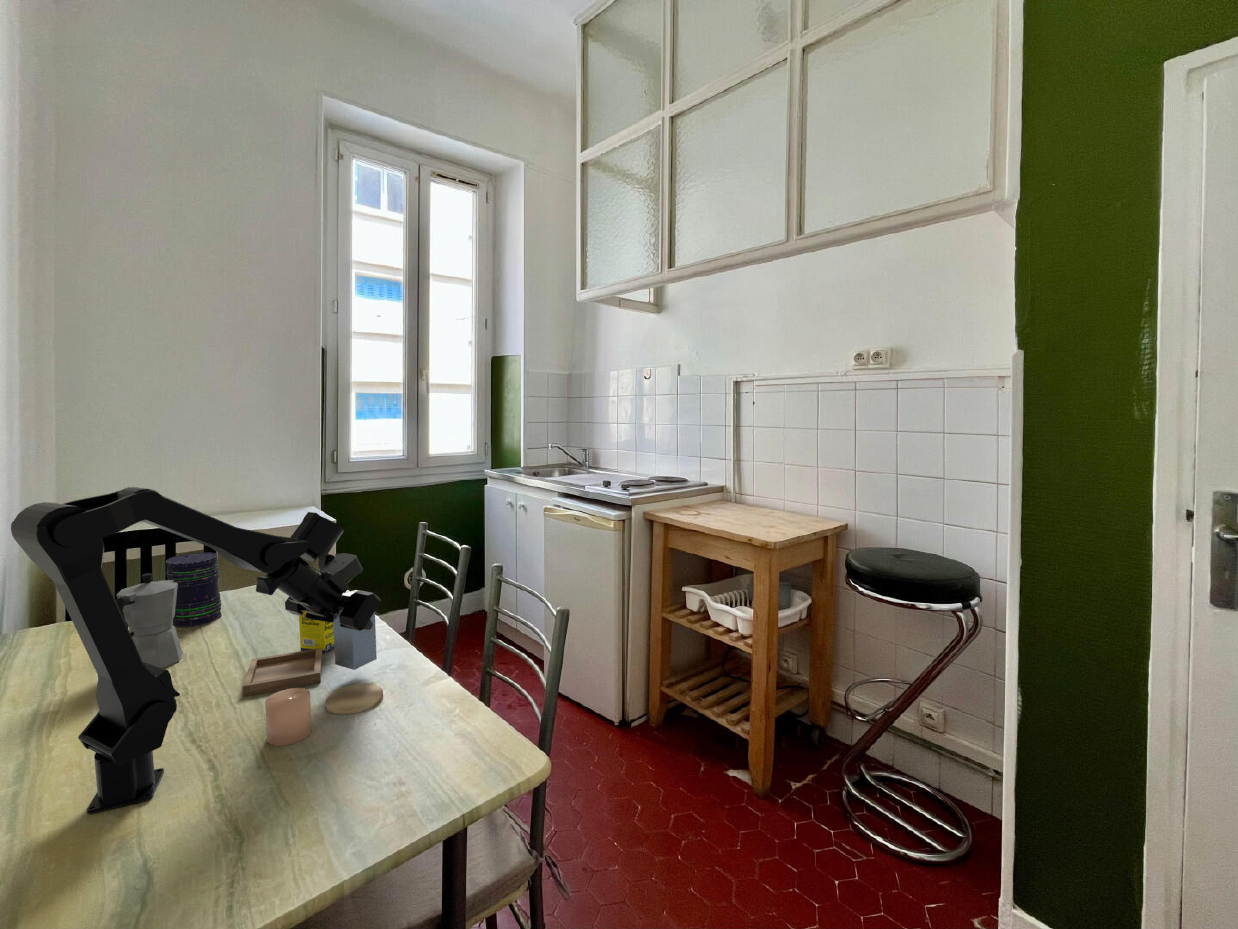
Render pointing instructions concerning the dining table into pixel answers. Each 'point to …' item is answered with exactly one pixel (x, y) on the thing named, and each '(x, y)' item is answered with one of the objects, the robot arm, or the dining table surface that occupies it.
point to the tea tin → (353, 643)
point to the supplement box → (315, 634)
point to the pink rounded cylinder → (288, 716)
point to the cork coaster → (354, 699)
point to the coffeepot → (152, 620)
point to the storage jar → (195, 588)
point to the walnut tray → (283, 671)
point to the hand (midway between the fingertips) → (361, 624)
